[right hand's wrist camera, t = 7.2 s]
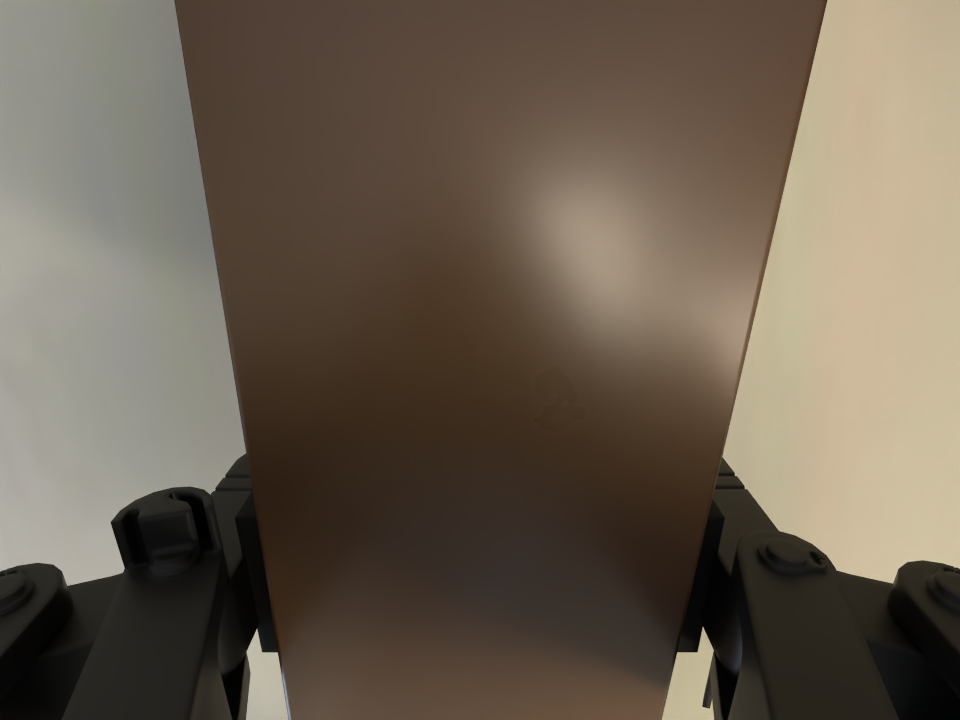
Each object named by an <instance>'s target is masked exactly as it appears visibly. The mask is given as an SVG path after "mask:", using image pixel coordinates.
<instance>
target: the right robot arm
mask: <svg viewBox="0 0 960 720" xmlns="http://www.w3.org/2000/svg"><path fill="white" fill-rule="evenodd" d="M225 476H226V477H225V478H223V479H222V480H221V482H220V483H219V484H218V486H217V487H216V491H213V492H212V493H211V495H210V494H209V493H207V492H206V491H205V490H203V489H199V488H194V487H175V488H169V489H165V490H161V491H157V492H153V493H151V494H149V495H146V496H144V497H142V498H140V499H137V500H135V501H134V502H132V503H131V504H129V505H128V506H126V507H125V508H123V509H122V510H120V511H119V513H118V514H117V515H116V516H115V518H114V519H113V520H112V521H111V525H112V528H113V532H114V535H115V538H116V541H117V544H118V548H119V551H120V554H121V557H122V560H123V564H124V567H125V570H124V572H123V573H121V574H118V575H115V576H111V577H106V578H102V579H97V580H93V581H88V582H84V583H79V584H75V585H70V586H67V584H66V582H65V579H64V576H63V573H62V571H61V570H59V569H58V568H57V567H55V566H54V565H51V564H43V563H34V564H27V565H21V566H16V567H13V568H9V569H7V570H3V571H0V720H246V712H247V702H248V692H249V682H250V668H249V661H248V657H247V652H246V651H247V649H248V647H249V645H250V643H251V640H252V638H253V636H254V634H255V632H256V629H258V634H259V639H260V644H261V648H262V652H278V649H277V643H276V636H275V630H274V624H273V617H272V611H271V605H270V598H269V592H268V586H267V580H266V573H265V567H264V561H263V554H262V548H261V542H260V535H259V529H258V523H257V517H256V510H255V504H254V498H253V491H252V485H251V479H250V473H249V466H248V460H247V454H245V455H243V456H242V457H240V458H239V459H237V460H236V462H235V463H234V464H233V466H232V467H231V468H230V470H229V471H228V472H227V474H226V475H225ZM702 627H704V629H705V632H706V634H707V636H708V638H709V640H710V643H711V645H712V647H713V649H714V652H713V657H712V661H711V666H710V671H709V675H708V680H707V684H706V689H705V693H704V699H703V705H702V707H706V708H710V705H711V701H713V710H714V720H960V569H959V568H955V567H953V566H949V565H946V564H943V563H936V562H929V561H914V562H907V563H906V564H904V565H903V566H902V567H900V568H899V569H898V572H897V575H896V578H895V580H894V583H893V584H892V583H887V582H883V581H878V580H873V579H869V578H864V577H860V576H855V575H851V574H847V573H843V572H840V571H836V569H835V567H834V565H833V564H832V563H831V561H830V560H829V558H828V557H827V555H825V554H824V553H823V552H822V551H820V550H819V549H818V548H816V547H815V546H814V545H813V544H811V543H809V542H807V541H805V540H803V539H801V538H799V537H797V536H795V535H791V534H788V533H784V532H780V531H778V529H777V528H776V527H775V525H774V524H773V523H772V521H771V520H770V519H769V518H768V516H767V515H766V514H765V512H764V511H763V510H762V508H761V507H760V506H759V504H758V503H757V502H756V501H755V499H754V498H753V497H752V495H751V494H750V493H749V491H748V490H747V489H745V488H744V485H743V483H742V482H741V481H740V480H739V478H738V477H737V476H735V473H734V472H733V470H732V469H731V468H730V466H729V465H728V464H727V463H726V461H725V460H724V459H723V458H722V459H721V464H720V468H719V472H718V477H717V481H716V485H715V490H714V494H713V498H712V503H711V507H710V511H709V516H708V520H707V524H706V529H705V533H704V538H703V542H702V546H701V551H700V555H699V559H698V564H697V568H696V572H695V577H694V581H693V585H692V590H691V594H690V598H689V603H688V607H687V611H686V616H685V620H684V624H683V629H682V633H681V637H680V642H679V646H678V650H677V652H698V647H699V642H700V637H701V632H702Z"/></svg>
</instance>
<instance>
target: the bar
mask: <svg viewBox="0 0 960 720" xmlns="http://www.w3.org/2000/svg"><path fill="white" fill-rule="evenodd" d="M826 3H827V0H175V7H176V13H177V19H178V25H179V32H180V38H181V44H182V51H183V57H184V63H185V69H186V76H187V82H188V88H189V95H190V101H191V107H192V114H193V120H194V126H195V132H196V139H197V145H198V151H199V158H200V164H201V170H202V177H203V183H204V189H205V195H206V202H207V208H208V214H209V221H210V227H211V233H212V240H213V246H214V252H215V258H216V265H217V271H218V277H219V284H220V290H221V296H222V302H223V309H224V315H225V321H226V328H227V334H228V340H229V347H230V353H231V359H232V365H233V372H234V378H235V384H236V391H237V397H238V403H239V410H240V416H241V422H242V428H243V435H244V441H245V447H246V454H247V460H248V466H249V473H250V479H251V485H252V491H253V498H254V504H255V510H256V517H257V523H258V529H259V535H260V542H261V548H262V554H263V561H264V567H265V573H266V580H267V586H268V592H269V598H270V605H271V611H272V617H273V624H274V630H275V636H276V643H277V649H278V655H279V661H280V668H281V674H282V680H283V687H284V693H285V699H286V706H287V712H288V718H289V720H662V716H663V711H664V707H665V703H666V698H667V694H668V690H669V685H670V681H671V676H672V672H673V668H674V663H675V659H676V655H677V650H678V646H679V642H680V637H681V633H682V629H683V624H684V620H685V616H686V611H687V607H688V603H689V598H690V594H691V590H692V585H693V581H694V577H695V572H696V568H697V564H698V559H699V555H700V551H701V546H702V542H703V538H704V533H705V529H706V524H707V520H708V516H709V511H710V507H711V503H712V498H713V494H714V490H715V485H716V481H717V477H718V472H719V468H720V464H721V459H722V455H723V451H724V446H725V442H726V438H727V433H728V429H729V425H730V420H731V416H732V412H733V407H734V403H735V399H736V394H737V390H738V386H739V381H740V377H741V372H742V368H743V364H744V359H745V355H746V351H747V346H748V342H749V338H750V333H751V329H752V325H753V320H754V316H755V312H756V307H757V303H758V299H759V294H760V290H761V286H762V281H763V277H764V273H765V268H766V264H767V260H768V255H769V251H770V247H771V242H772V238H773V234H774V229H775V225H776V220H777V216H778V212H779V207H780V203H781V199H782V194H783V190H784V186H785V181H786V177H787V173H788V168H789V164H790V160H791V155H792V151H793V147H794V142H795V138H796V134H797V129H798V125H799V121H800V116H801V112H802V108H803V103H804V99H805V95H806V90H807V86H808V82H809V77H810V73H811V68H812V64H813V60H814V55H815V51H816V47H817V42H818V38H819V34H820V29H821V25H822V21H823V16H824V12H825V8H826Z"/></svg>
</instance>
